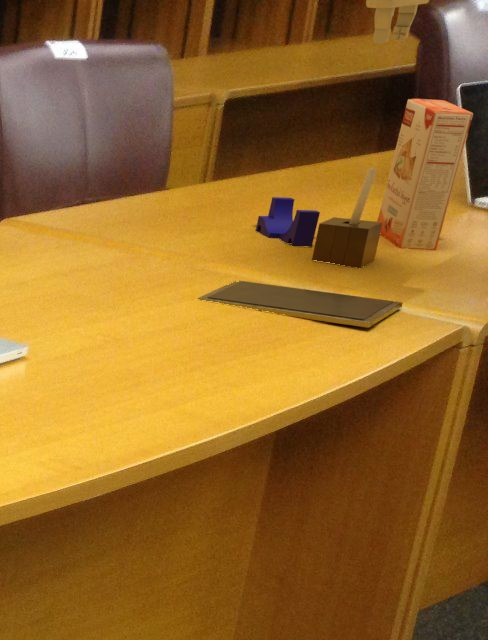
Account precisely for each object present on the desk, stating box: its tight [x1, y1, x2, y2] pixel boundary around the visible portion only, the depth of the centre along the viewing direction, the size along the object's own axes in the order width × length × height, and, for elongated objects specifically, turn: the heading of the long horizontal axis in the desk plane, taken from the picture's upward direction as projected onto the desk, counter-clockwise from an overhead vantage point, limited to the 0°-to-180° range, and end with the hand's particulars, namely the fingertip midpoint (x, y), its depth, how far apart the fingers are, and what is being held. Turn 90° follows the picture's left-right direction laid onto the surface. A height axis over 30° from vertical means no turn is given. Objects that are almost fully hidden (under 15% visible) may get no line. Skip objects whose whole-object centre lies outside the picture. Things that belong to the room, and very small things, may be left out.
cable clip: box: [255, 196, 321, 247], centre depth 243 cm, size 12×4×6 cm, turn 178°
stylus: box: [349, 166, 378, 225], centre depth 227 cm, size 1×1×14 cm
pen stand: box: [311, 216, 382, 269], centre depth 229 cm, size 7×7×6 cm
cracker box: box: [376, 98, 474, 251], centre depth 240 cm, size 14×6×21 cm, turn 170°
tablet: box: [197, 280, 403, 329], centre depth 205 cm, size 22×15×1 cm
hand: (389, 41), depth 217 cm, fingers open, 8 cm apart
